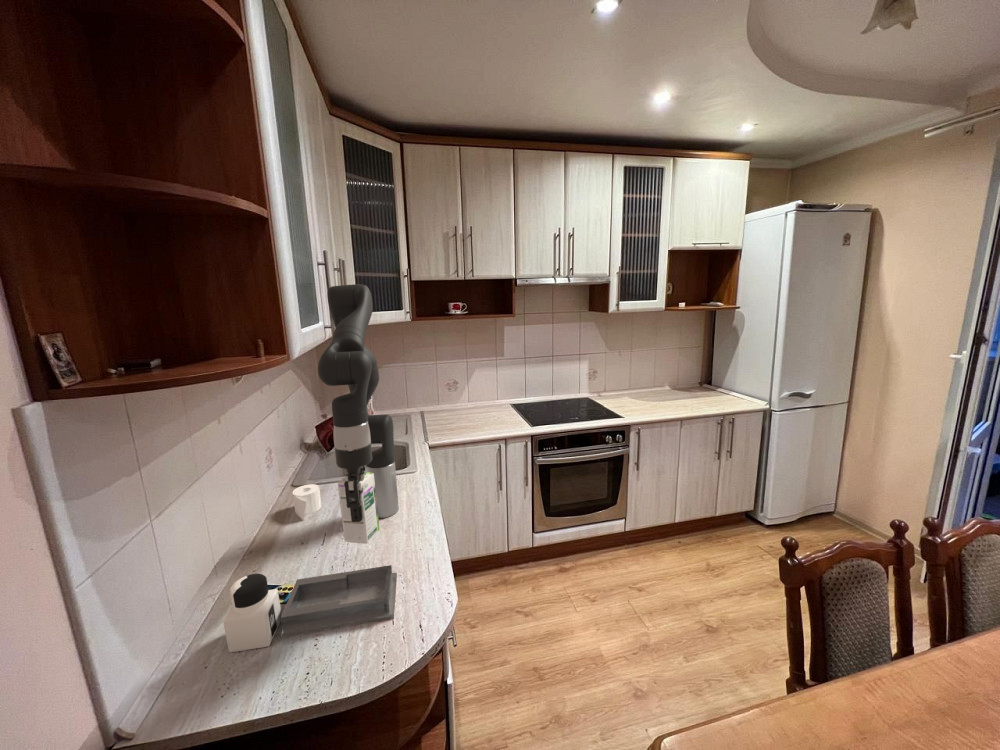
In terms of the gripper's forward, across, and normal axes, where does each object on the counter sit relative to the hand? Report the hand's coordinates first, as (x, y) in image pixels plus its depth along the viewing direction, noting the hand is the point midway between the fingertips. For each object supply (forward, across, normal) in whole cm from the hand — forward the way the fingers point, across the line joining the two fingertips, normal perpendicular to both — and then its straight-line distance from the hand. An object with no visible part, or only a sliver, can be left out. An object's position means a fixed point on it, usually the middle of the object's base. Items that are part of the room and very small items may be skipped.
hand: (359, 512), depth 91 cm
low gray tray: (+22, 0, -5) cm, 23 cm away
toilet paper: (+22, -48, -25) cm, 58 cm away
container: (+23, +5, -22) cm, 32 cm away
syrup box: (+6, 0, 0) cm, 6 cm away
